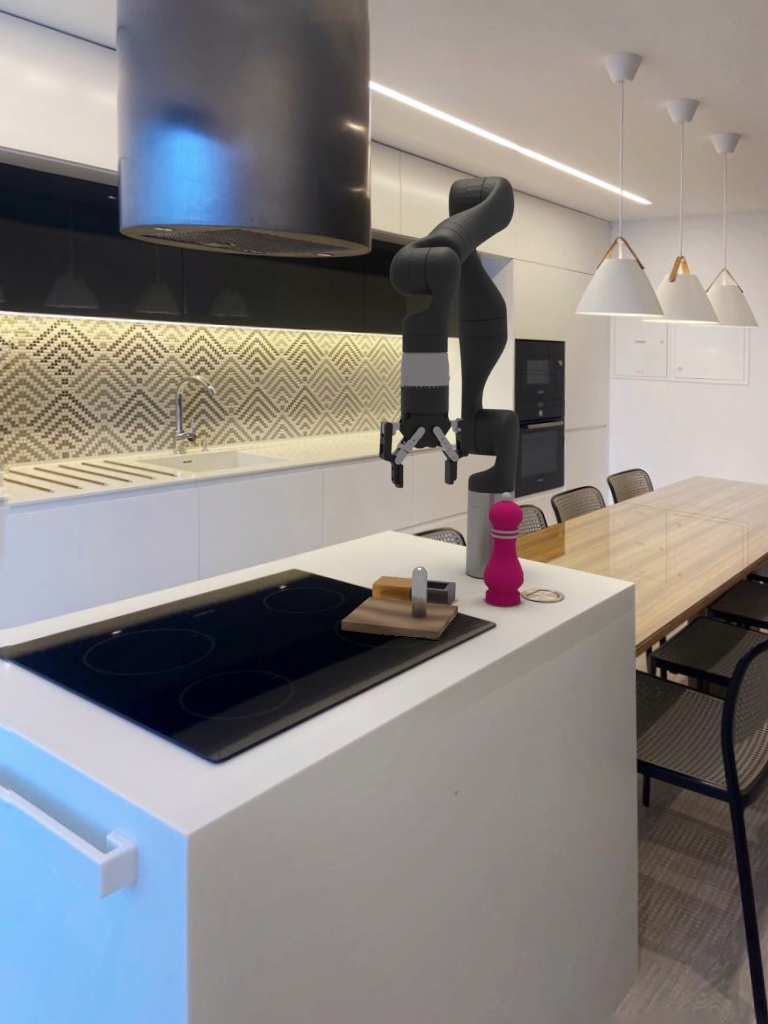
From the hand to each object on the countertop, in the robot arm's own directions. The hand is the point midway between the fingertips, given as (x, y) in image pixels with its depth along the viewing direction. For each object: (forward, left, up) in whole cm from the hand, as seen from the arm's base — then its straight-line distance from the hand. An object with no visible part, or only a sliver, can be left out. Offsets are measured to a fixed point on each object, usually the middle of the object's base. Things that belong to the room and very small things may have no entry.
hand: (424, 485), depth 130 cm
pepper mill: (-18, +10, -24) cm, 31 cm away
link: (-14, -5, -23) cm, 28 cm away
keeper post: (-1, -1, -22) cm, 22 cm away
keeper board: (-1, -4, -23) cm, 24 cm away
